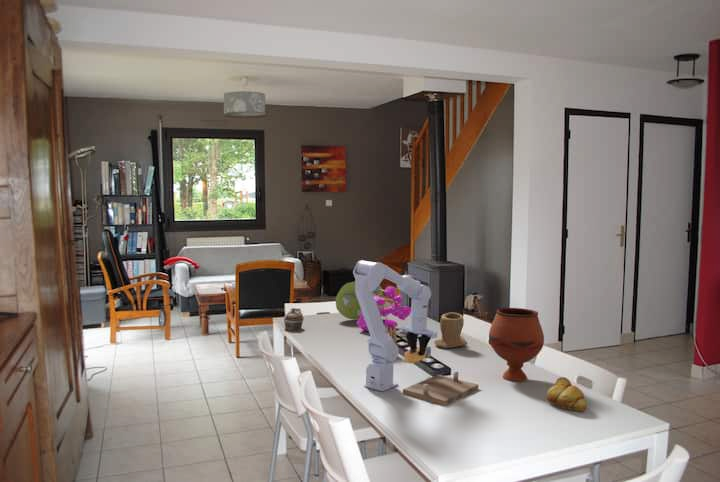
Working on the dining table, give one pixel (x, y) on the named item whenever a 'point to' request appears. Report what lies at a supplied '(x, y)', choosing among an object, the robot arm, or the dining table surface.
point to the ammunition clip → (391, 334)
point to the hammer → (416, 355)
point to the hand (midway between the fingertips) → (417, 354)
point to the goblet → (516, 339)
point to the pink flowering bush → (352, 310)
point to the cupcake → (293, 320)
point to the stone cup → (451, 331)
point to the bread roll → (566, 395)
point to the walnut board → (441, 389)
